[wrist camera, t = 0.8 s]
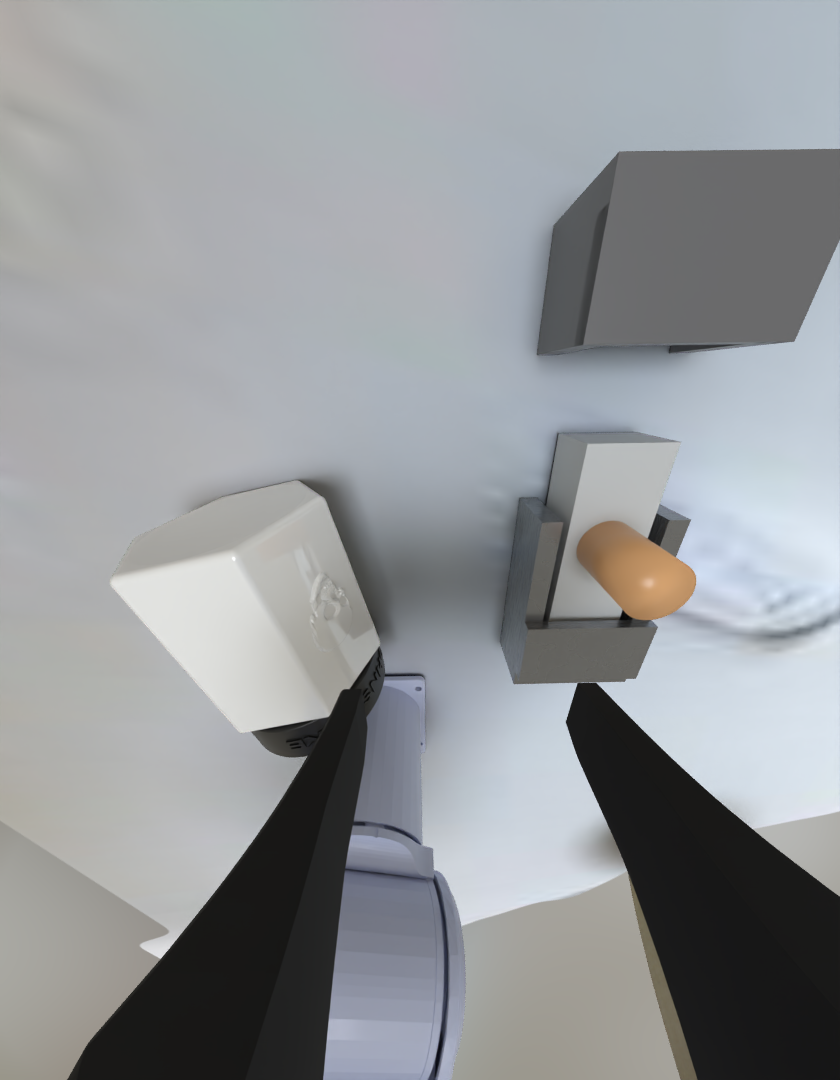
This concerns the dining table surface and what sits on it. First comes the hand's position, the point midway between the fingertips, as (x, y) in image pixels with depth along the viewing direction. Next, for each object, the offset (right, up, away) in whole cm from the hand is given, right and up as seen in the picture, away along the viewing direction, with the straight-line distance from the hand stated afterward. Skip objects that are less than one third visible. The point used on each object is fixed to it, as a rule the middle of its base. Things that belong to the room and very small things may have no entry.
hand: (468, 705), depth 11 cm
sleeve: (+8, +4, +9) cm, 13 cm away
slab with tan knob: (+8, +5, +8) cm, 12 cm away
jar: (-10, +7, +3) cm, 13 cm away
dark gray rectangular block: (+7, +17, +3) cm, 19 cm away
